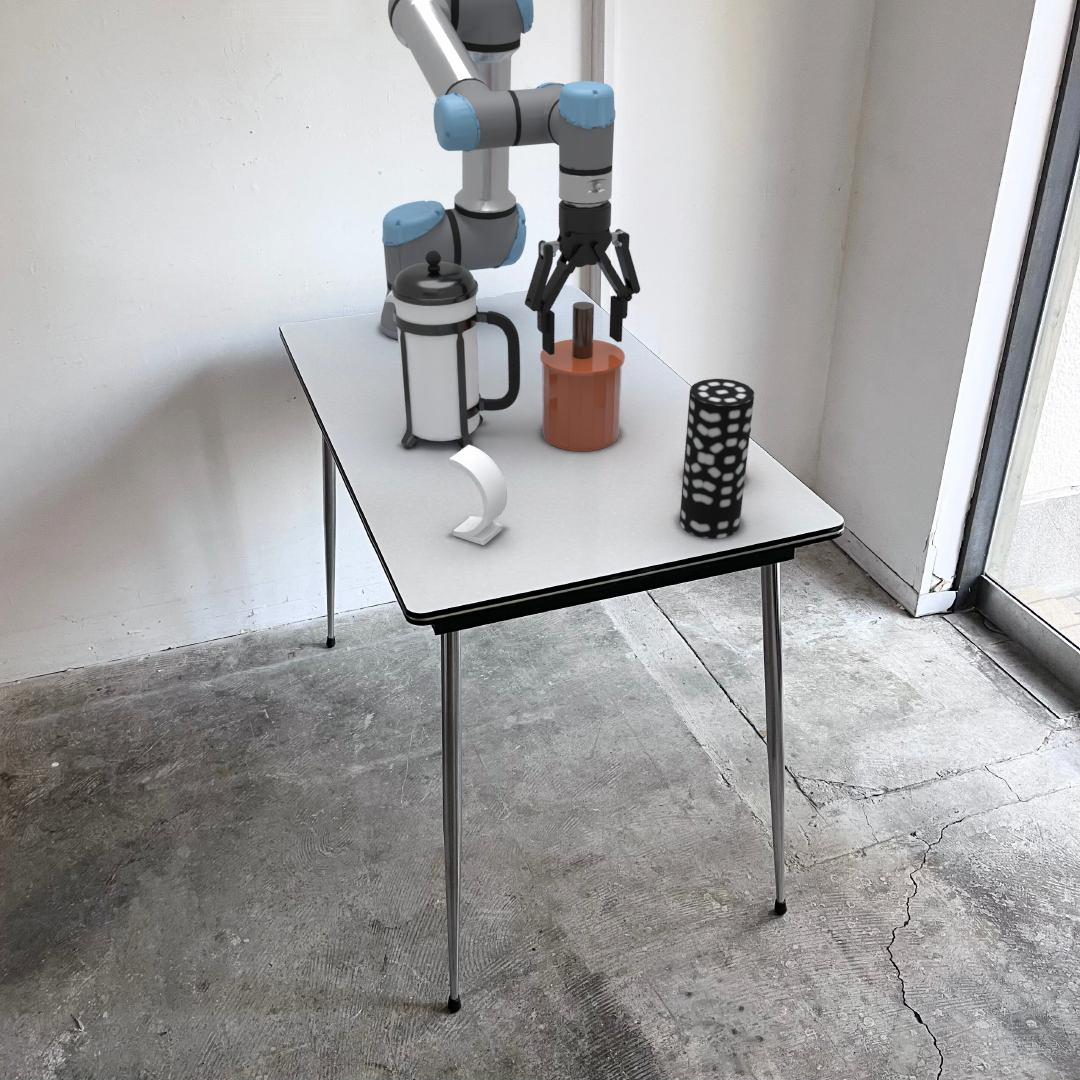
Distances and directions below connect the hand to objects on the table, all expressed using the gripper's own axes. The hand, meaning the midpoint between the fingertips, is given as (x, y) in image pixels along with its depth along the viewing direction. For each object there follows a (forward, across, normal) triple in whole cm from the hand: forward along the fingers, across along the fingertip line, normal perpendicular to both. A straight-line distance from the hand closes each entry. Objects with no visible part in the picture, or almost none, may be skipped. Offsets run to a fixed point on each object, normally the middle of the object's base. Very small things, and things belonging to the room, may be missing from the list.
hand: (582, 345), depth 167 cm
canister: (+15, 0, 0) cm, 15 cm away
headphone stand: (+15, -26, -21) cm, 37 cm away
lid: (+2, 0, 0) cm, 2 cm away
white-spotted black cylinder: (+15, +4, -32) cm, 36 cm away
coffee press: (+15, -19, +9) cm, 26 cm away
